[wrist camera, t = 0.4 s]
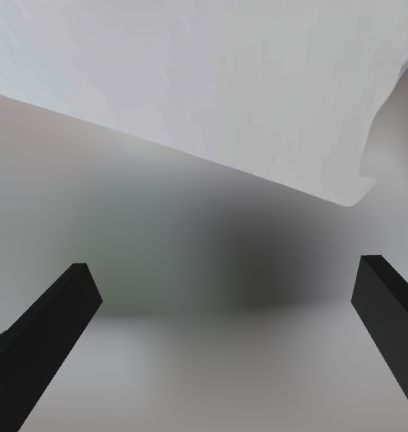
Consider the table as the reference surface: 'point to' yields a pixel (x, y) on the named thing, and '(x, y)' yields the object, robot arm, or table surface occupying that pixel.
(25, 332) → the robot arm
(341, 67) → the table surface
